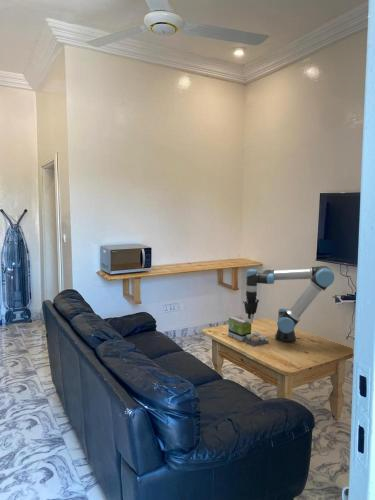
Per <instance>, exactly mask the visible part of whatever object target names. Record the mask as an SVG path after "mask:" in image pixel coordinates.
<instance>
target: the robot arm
mask: <svg viewBox="0 0 375 500" xmlns="http://www.w3.org/2000/svg"><path fill="white" fill-rule="evenodd" d="M246 270H247V271H246V284H245V285H246V286H245V287H246V289H245V290H246V292H245V296H246V298H245V300H243V304H244V312H245V314H247V319H249V320H248V323H251V324H253V323H254V315H255V314H256V313H257V309H258V304H259V302H260V299H257V296H258V294H257V292H258V291H257V290H258V284H263V285H273V284H274V283H275V281H285V280H286V281H287V280H291V281H292V280H310V283H309V285H308V286H307V287H306V288H305V289H304V290H303V292H302V293H301V294H300V296H299V297H298V298H297V299H296V301H294V303H293V304H292V305H291V307H290V308H279V309H278V312H277V313H278V315H277V316H278V317H277V322H276V324H277V331H276V333H275V336H274V337H275V338H274V339H275V340H276V341H277V342H280V343H287V344H288V343H289V344H292V343H295V342H296V341H297V336H296V332H295V328H296V326H297V324H298V323H299V322H300V317H301V316H302V315H303V313H305V311H306V310H307V309H308V307H310V305H311V304H312V303H313V302H314V300H315V299H316V298H317V297H318V296H319V294H320V293H321V292H323V291H325V290H327V288H329V287H330V286H331V285H332V284H333V283H334V281H335V274H334V273H335V272H333V271H332V269H331V268H330V267H329V266H326V265H320V266H318V265H317V266H311V267H309V268H294V269H293V268H290V269H289V268H288V269H265V270H263V272H258V269H255V268H254V269H253V268H250V269H246Z"/></svg>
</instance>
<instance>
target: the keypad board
mask: <svg viewBox="0 0 375 500" xmlns="http://www.w3.org/2000/svg"><path fill="white" fill-rule="evenodd" d="M242 342H244V343H245V344H247V345H249V344H250V346H252V347H259V346H263V345H264V346H265V345H268V344H269V340H267V339H265V341H263V342H260V341H259V342H258V343H253V342H251V341H249V340H247V339H246V338H245V339H243V341H242Z"/></svg>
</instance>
